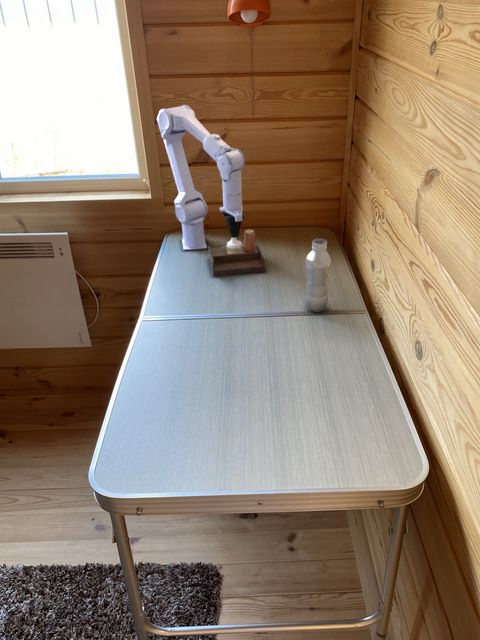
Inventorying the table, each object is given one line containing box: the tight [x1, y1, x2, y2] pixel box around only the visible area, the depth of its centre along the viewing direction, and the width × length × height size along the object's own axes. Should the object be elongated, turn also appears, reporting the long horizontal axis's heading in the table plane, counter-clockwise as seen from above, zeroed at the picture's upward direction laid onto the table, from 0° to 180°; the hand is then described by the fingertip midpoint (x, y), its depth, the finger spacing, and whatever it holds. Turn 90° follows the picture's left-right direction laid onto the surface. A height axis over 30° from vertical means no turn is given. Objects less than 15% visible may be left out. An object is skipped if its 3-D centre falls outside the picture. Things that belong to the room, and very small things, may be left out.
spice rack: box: [207, 241, 265, 277], centre depth 165 cm, size 12×16×5 cm
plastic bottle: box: [303, 238, 332, 313], centre depth 138 cm, size 6×7×20 cm
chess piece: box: [226, 237, 243, 248], centre depth 162 cm, size 5×5×10 cm
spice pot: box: [243, 229, 256, 252], centre depth 165 cm, size 4×4×6 cm
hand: (233, 235), depth 163 cm, fingers closed on chess piece
